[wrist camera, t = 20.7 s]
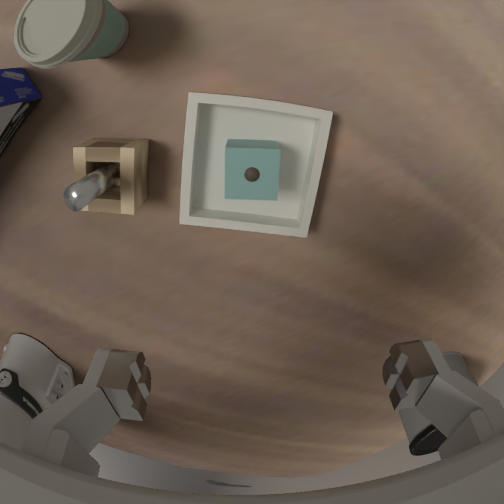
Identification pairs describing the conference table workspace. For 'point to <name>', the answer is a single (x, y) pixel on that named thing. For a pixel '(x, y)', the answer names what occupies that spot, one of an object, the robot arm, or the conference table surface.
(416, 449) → the container
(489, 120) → the conference table surface
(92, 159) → the beech block
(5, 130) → the ink box
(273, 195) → the teal cube
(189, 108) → the tray
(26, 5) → the coffee cup
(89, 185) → the cylinder
